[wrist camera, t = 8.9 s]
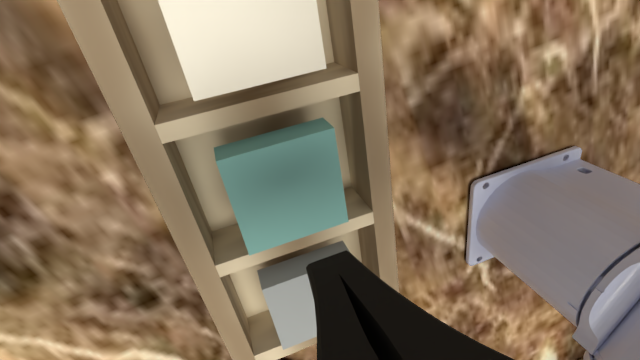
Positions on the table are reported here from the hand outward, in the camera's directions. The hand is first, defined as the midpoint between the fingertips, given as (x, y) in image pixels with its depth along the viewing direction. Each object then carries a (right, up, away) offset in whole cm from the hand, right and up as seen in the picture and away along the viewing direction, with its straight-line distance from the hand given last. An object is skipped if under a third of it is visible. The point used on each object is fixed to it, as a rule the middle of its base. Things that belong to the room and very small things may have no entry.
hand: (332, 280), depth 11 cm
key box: (-3, +4, +8) cm, 10 cm away
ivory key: (-4, +10, +3) cm, 11 cm away
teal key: (-3, +4, +7) cm, 9 cm away
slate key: (-2, -2, +11) cm, 12 cm away
